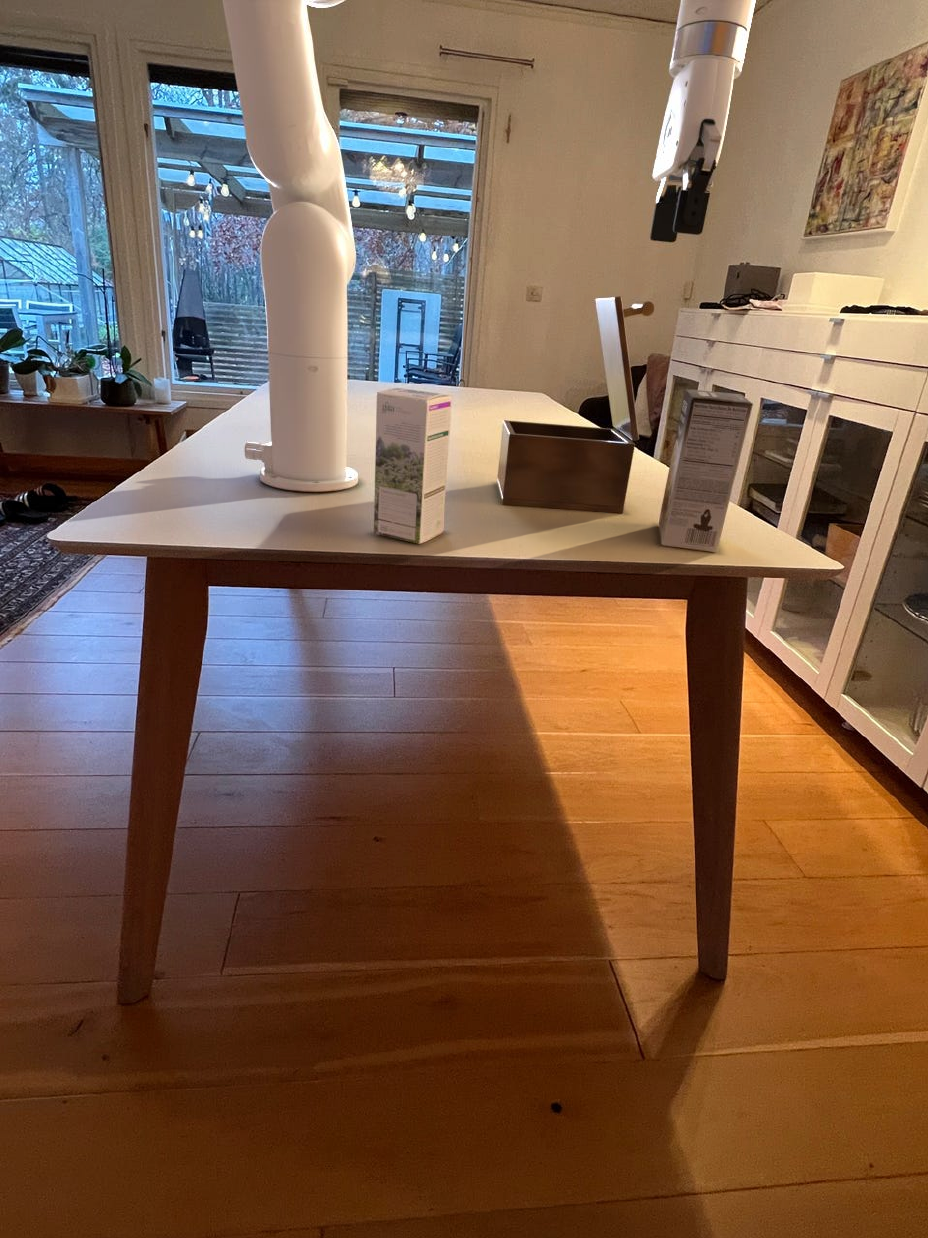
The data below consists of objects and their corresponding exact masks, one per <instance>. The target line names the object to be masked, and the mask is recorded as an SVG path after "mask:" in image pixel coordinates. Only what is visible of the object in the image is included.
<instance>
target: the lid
mask: <svg viewBox="0 0 928 1238" xmlns="http://www.w3.org/2000/svg"><path fill="white" fill-rule="evenodd" d="M595 307H596V313H597V319H598V320H597V321H598V327H599V335H600V342H601V350H602V355H603V356H602V357H603V364H604V370H605V371H604V372H605V378H606V379H605V380H606V385H607V393H608V400H609V408H610V414H611V422H612V427H613V428H614V429H616V430H617V431H618V432H619V431H620V432H619V433H621V434H622V435H623V436H625V437H626V438H627V439H629V440H630V441H632V442H633V441H638V440H640V436H639V429H638V419H637V412H636V411H637V410H636V405H635V394H634V387H633V379H632V371H631V364H630V356H629V354H630V353H629V346H628V339H627V331H626V323H625V318H629V317H634V316H635V317H636V316H637V317H650V316H652V315H653V314H654V312H655V309H656V307H655V304H654V302H652V301H636V302H634V303H633V304H632V306H630V307H627V308H624V305H623V299H622V296H621V295H617V296H603V297H598V298H595Z"/></svg>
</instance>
